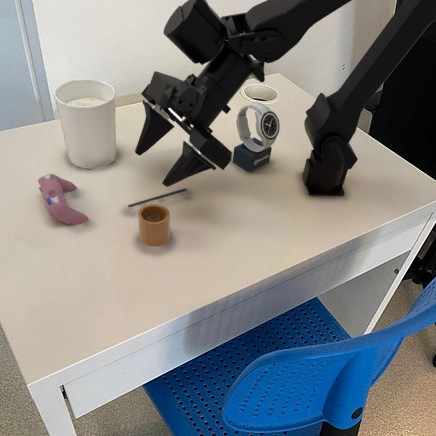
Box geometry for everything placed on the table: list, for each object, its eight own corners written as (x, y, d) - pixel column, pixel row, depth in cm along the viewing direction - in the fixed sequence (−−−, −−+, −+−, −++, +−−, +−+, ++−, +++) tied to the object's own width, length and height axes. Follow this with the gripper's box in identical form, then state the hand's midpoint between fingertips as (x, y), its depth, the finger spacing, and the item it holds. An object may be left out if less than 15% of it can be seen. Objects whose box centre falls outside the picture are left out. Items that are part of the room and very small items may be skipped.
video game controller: (55, 202, 82) (28, 173, 77) (78, 187, 82) (53, 158, 76) (68, 240, 76) (39, 212, 71) (93, 225, 76) (66, 195, 70)
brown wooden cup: (160, 229, 77) (160, 200, 73) (174, 246, 75) (175, 218, 71) (134, 237, 76) (132, 209, 72) (147, 255, 73) (146, 227, 69)
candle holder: (109, 176, 86) (102, 111, 77) (55, 166, 86) (42, 100, 78) (127, 146, 92) (123, 84, 84) (77, 137, 93) (68, 74, 84)
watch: (257, 177, 89) (266, 121, 81) (225, 157, 92) (231, 101, 84) (277, 166, 92) (288, 111, 84) (245, 147, 95) (253, 92, 87)
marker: (143, 231, 83) (187, 191, 84) (147, 234, 82) (191, 193, 83) (123, 207, 79) (169, 165, 80) (126, 209, 78) (173, 167, 79)
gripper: (151, 26, 71) (86, 114, 74) (220, 81, 60) (141, 180, 64) (196, 71, 80) (137, 148, 83) (263, 126, 69) (192, 210, 73)
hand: (150, 169), depth 76 cm, fingers open, 9 cm apart
